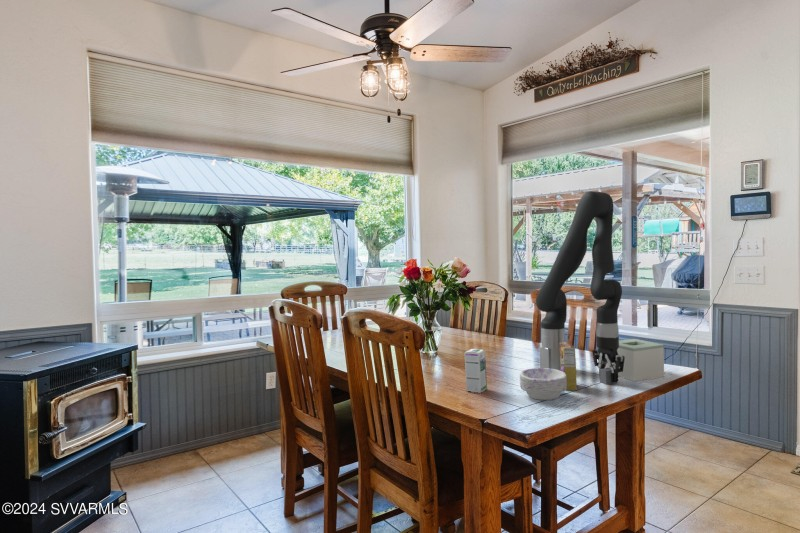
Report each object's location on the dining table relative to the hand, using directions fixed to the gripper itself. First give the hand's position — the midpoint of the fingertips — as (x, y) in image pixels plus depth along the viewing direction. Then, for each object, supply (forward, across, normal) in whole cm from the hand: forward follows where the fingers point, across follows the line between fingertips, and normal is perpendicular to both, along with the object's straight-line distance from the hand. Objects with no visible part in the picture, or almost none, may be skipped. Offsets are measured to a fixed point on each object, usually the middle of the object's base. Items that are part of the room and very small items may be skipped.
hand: (608, 380), depth 176 cm
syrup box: (+1, -13, -47) cm, 49 cm away
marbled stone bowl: (+1, +3, -30) cm, 30 cm away
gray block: (+1, 0, 0) cm, 1 cm away
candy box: (+1, -2, -16) cm, 16 cm away
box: (+1, -4, +16) cm, 17 cm away
